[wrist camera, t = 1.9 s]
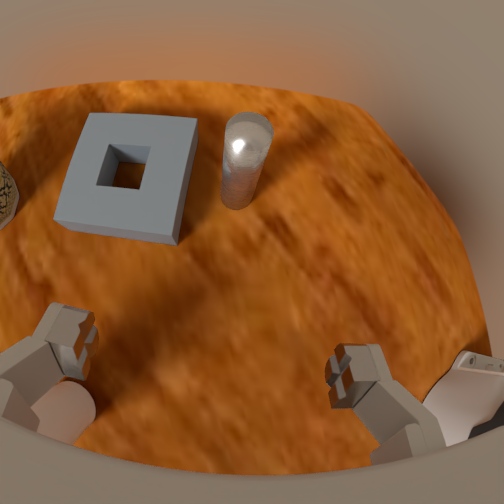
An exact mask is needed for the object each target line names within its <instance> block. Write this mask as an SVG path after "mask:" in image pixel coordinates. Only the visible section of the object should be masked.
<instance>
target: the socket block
mask: <svg viewBox="0 0 504 504" xmlns="http://www.w3.org/2000/svg"><path fill="white" fill-rule="evenodd" d="M198 139H199V138H198V121H197V118H187V117H176V116H163V115H148V114H126V113H89V116H88V118H87V120H86V123H85V125H84V128H83V130H82V133H81V135H80V138H79V140H78V143H77V146H76V148H75V151H74V154H73V156H72V159H71V162H70V165H69V168H68V171H67V174H66V177H65V180H64V184H63V187H62V190H61V193H60V197H59V200H58V204H57V208H56V211H55V215H54V219H53V220H55V221H56V222H58V223H60V224H61V225H63V226H64V227H66V228H67V229H69V230H72V231H79V232H86V233H93V234H99V235H106V236H113V237H120V238H127V239H134V240H141V241H148V242H155V243H162V244H169V245H176V246H177V243H178V237H179V232H180V226H181V220H182V215H183V210H184V205H185V200H186V194H187V190H188V185H189V180H190V175H191V170H192V166H193V161H194V157H195V152H196V148H197V144H198ZM119 162H129V163H140V164H146V167H145V170H144V174H143V178H142V182H141V186H140V190H137V189H128V188H118V187H112V185H113V181H114V178H115V174H116V171H117V167H118V164H119Z"/></svg>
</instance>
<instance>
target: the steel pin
mask: <svg viewBox="0 0 504 504" xmlns="http://www.w3.org/2000/svg"><path fill="white" fill-rule="evenodd" d="M273 135H274V131H273V127H272V125H271V123H270V122H269V121H268V120H267V119H266V118H265V117H264V116H262V115H260V114H258V113H254V112H242V113H238V114H236V115H234V116H233V117H232V118H230V120H229V121H228V122H227V125H226V129H225V141H224V153H223V166H222V180H221V194H220V196H221V200H222V202H223V204H224V205H225V206H226V207H228V208H229V209H232V210H241V209H243V208H245V207H247V206H248V205H249V203H250V202H251V199H252V196H253V193H254V190H255V188H256V185H257V182H258V179H259V176H260V173H261V170H262V167H263V164H264V162H265V159H266V156H267V153H268V150H269V147H270V144H271V142H272V139H273Z"/></svg>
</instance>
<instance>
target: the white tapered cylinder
mask: <svg viewBox="0 0 504 504" xmlns="http://www.w3.org/2000/svg"><path fill="white" fill-rule="evenodd" d="M30 408H31V409H32V410H33V411H34V413H35V414H36V415H37V416H38V418H39V420H40V423H39V426H38V429H37V433H40V434H42V435H45V436H47V437H50V438H53V439H55V440H58V441H61V442H64V443H67V444H70V445H74V443H75V442H76V441H77V440H78V438H79V437H80V436H81V434H82V433H83V432H84V431H85V430H86V429H87V428H88V427H89V426H90V425H91V424H92V423H93V421H94V419H95V415H96V407H95V403H94V400H93V398H92V396H91V395H90V393H89V392H88V391H87V390H86V389H85V388H84V387H83V386H81V385H80V384H78V383H76V382H73V381H63V382H60V383H57V384H56V385H54V386H53V387H52V388H51V389H50V390H49V391H48V392H47V393H46V394H44V395H43V396H42V397H41V398H40V399H39V400H38V401H37V402H36V403H35V404H33V405H32V406H31V407H30Z"/></svg>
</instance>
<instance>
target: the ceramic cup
mask: <svg viewBox="0 0 504 504" xmlns="http://www.w3.org/2000/svg"><path fill="white" fill-rule="evenodd" d="M18 201H19V192H18V190H17V187H16V184H15V181H14V179H13V178H12V176H11V175H10V174H9V172H8V171H7V170H6V168H5V167H4V166H3V164H2V163H1V161H0V230H1V229H2V228H3V227H4V226H5V225H6V224H8V223H9V222H10V221H11V220H12V219H13V217H14V214H15V211H16V207H17V204H18Z"/></svg>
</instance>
